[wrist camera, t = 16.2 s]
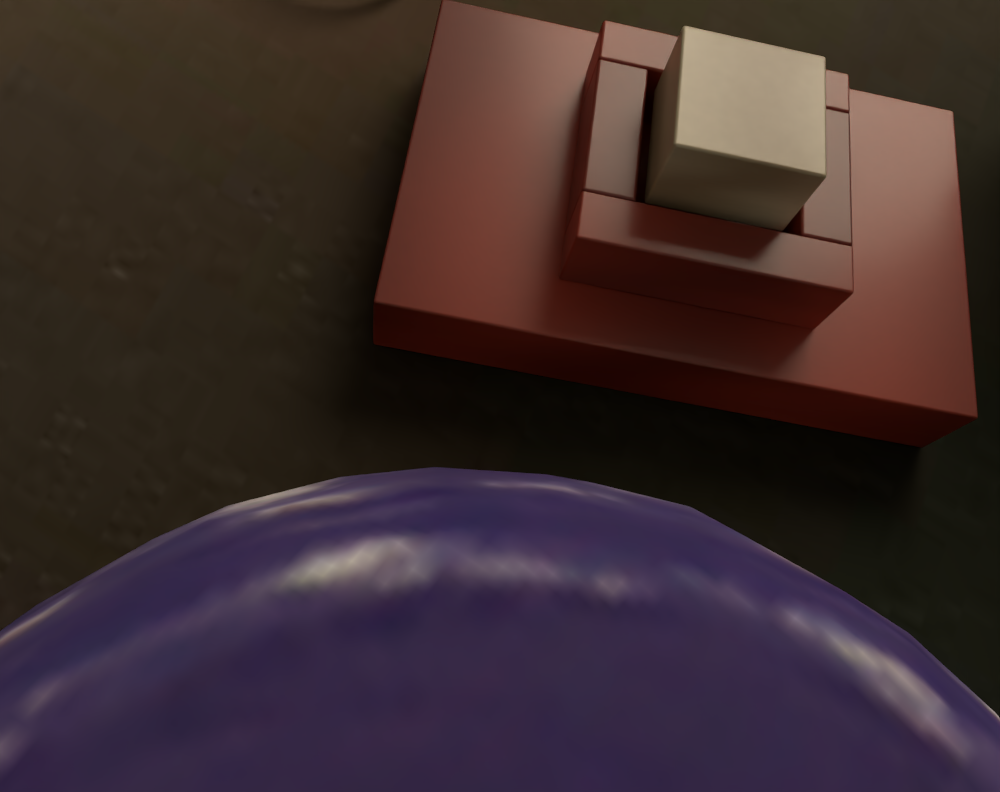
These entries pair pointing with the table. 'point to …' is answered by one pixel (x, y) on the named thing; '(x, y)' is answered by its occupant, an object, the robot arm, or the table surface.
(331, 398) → the table surface
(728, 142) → the cube block
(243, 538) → the toy lamp
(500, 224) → the tiered block stand
